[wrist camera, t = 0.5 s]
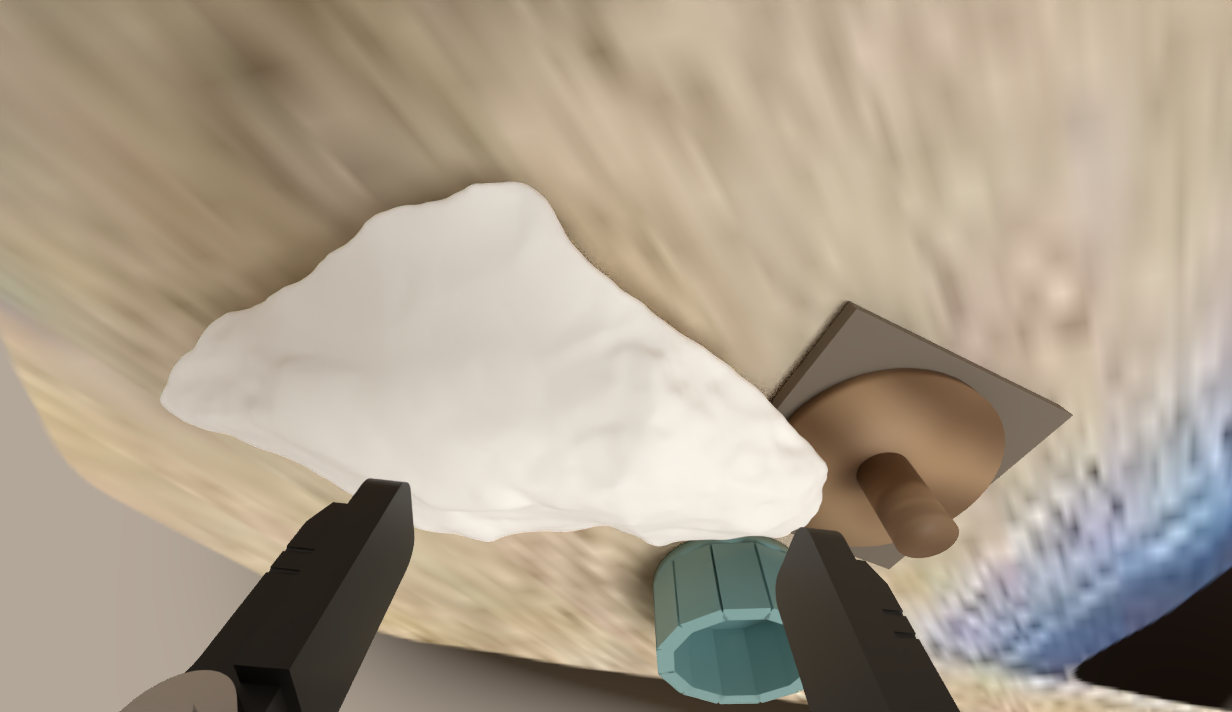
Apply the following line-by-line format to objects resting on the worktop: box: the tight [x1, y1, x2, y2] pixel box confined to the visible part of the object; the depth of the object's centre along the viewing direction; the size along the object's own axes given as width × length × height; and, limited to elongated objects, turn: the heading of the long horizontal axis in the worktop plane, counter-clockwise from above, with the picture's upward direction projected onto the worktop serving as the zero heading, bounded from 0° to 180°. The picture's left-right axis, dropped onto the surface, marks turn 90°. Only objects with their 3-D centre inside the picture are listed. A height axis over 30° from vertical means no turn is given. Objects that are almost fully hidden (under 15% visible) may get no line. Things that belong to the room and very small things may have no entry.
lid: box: [787, 368, 1005, 558], centre depth 28 cm, size 14×14×6 cm
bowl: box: [653, 536, 803, 704], centre depth 36 cm, size 12×12×6 cm
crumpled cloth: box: [160, 181, 828, 546], centre depth 25 cm, size 24×35×9 cm
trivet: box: [771, 302, 1073, 569], centre depth 31 cm, size 16×16×1 cm
